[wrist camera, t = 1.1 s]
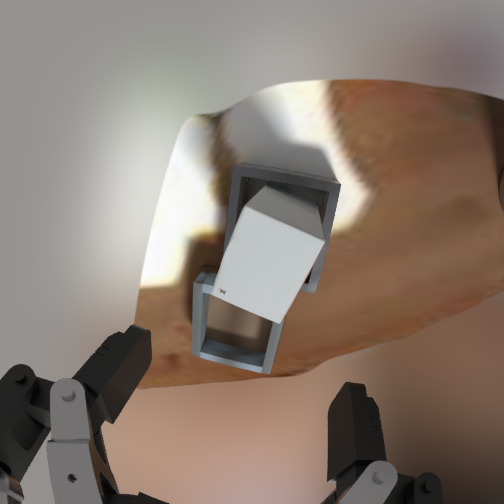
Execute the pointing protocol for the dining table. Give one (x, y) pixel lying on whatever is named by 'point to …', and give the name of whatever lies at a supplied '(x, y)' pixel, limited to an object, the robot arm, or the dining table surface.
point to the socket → (290, 177)
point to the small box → (270, 253)
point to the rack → (231, 329)
